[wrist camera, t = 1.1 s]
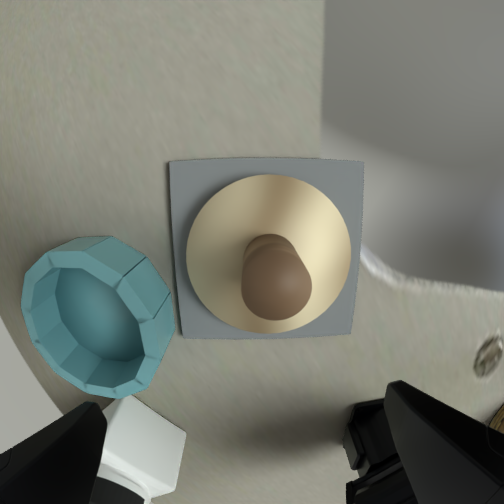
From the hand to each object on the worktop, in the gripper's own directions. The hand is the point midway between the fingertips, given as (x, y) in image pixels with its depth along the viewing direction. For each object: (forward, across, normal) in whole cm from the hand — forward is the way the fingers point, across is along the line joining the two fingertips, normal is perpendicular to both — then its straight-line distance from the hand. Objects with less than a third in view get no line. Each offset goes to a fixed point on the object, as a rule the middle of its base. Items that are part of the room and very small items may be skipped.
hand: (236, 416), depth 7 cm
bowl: (+12, +11, +2) cm, 16 cm away
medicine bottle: (+12, +12, +14) cm, 23 cm away
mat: (+12, -2, -1) cm, 12 cm away
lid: (+12, -2, -1) cm, 12 cm away
